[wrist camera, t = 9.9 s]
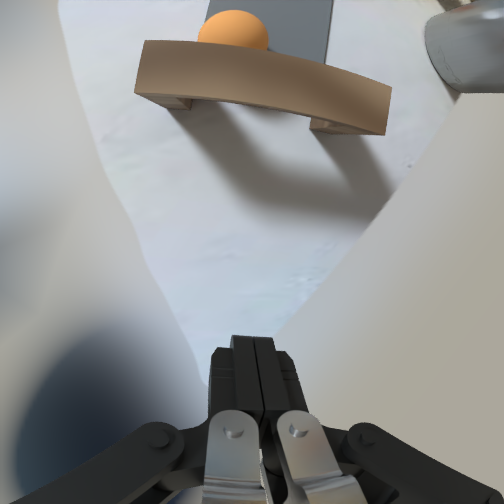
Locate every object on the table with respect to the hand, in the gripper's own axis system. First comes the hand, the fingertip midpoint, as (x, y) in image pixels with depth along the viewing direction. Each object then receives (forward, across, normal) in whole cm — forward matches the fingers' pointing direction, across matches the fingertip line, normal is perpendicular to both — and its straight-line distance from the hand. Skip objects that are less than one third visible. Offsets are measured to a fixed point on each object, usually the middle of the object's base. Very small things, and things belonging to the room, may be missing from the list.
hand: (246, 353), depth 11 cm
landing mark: (+15, 0, -18) cm, 24 cm away
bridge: (+15, 0, -11) cm, 19 cm away
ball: (+12, +2, -15) cm, 20 cm away
